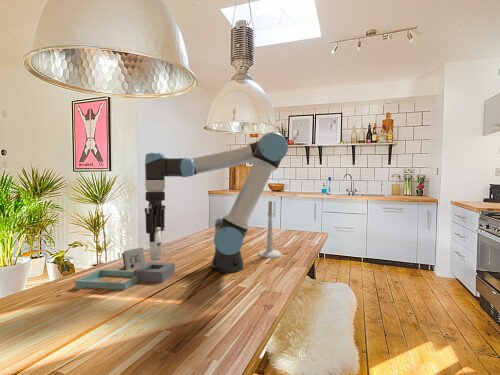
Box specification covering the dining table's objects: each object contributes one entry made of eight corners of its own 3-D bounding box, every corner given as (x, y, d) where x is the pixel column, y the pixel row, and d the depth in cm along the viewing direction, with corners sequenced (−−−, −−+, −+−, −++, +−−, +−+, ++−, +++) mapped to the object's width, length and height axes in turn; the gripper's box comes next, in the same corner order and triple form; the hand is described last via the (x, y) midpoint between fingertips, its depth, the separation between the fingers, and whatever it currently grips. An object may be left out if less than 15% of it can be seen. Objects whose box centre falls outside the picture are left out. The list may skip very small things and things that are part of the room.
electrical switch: (127, 272, 125) (126, 251, 126) (121, 271, 129) (120, 250, 129) (146, 267, 133) (145, 247, 133) (140, 266, 136) (139, 246, 136)
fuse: (163, 257, 119) (162, 226, 119) (158, 260, 115) (157, 228, 115) (153, 257, 120) (153, 226, 119) (148, 260, 116) (148, 228, 115)
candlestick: (279, 252, 163) (280, 199, 163) (283, 258, 151) (283, 201, 150) (257, 252, 163) (258, 199, 162) (258, 258, 150) (259, 201, 149)
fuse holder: (175, 274, 123) (175, 263, 123) (162, 285, 111) (162, 272, 111) (148, 273, 124) (148, 261, 124) (133, 283, 112) (133, 270, 112)
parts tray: (144, 279, 117) (144, 271, 117) (125, 292, 103) (125, 283, 103) (100, 276, 120) (100, 269, 120) (75, 289, 106) (75, 280, 106)
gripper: (156, 190, 125) (156, 243, 126) (135, 192, 109) (136, 253, 109) (172, 190, 124) (173, 243, 125) (154, 192, 107) (154, 253, 108)
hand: (155, 247), depth 117 cm, fingers closed on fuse, 4 cm apart
